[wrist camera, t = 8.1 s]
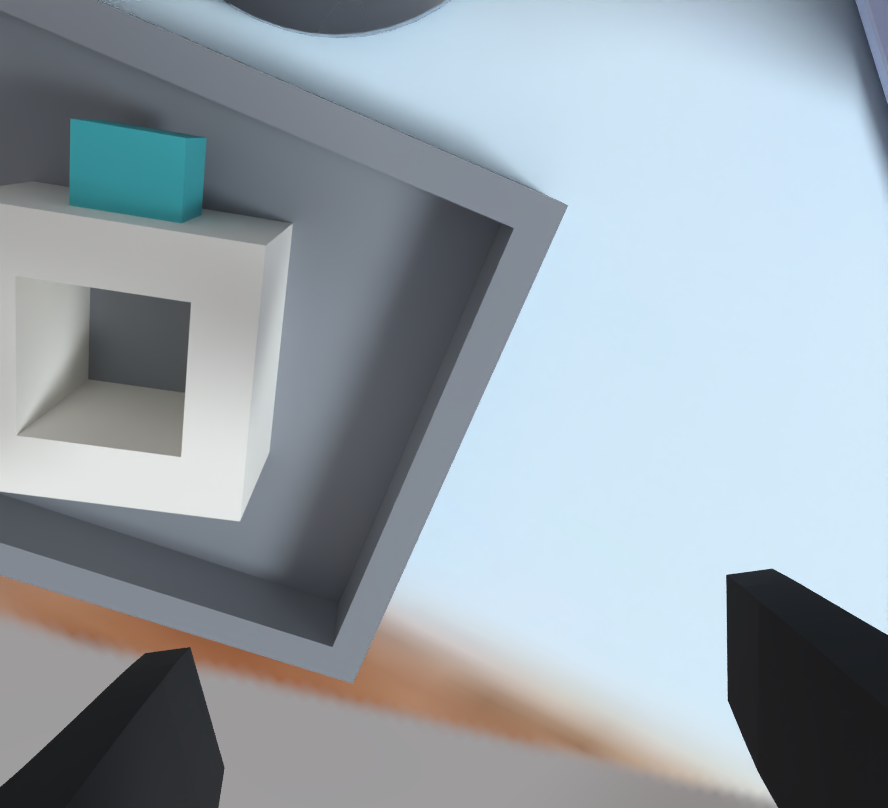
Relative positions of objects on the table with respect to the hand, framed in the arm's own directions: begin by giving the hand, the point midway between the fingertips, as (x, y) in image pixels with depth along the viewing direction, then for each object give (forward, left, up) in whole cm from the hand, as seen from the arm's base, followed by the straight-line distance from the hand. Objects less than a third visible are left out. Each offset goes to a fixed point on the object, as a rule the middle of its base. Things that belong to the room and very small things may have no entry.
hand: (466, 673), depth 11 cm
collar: (+4, -5, -9) cm, 11 cm away
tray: (+4, -5, -9) cm, 12 cm away
